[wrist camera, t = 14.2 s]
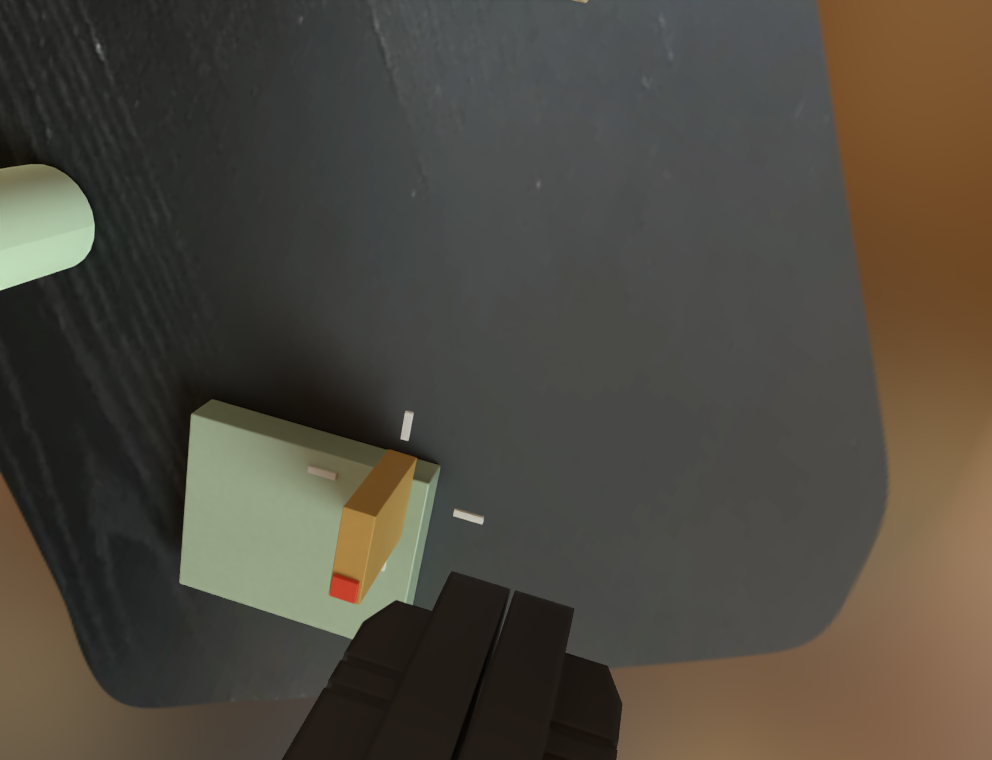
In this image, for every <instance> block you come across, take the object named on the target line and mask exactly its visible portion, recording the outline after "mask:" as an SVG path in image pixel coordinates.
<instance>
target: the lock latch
mask: <svg viewBox="0 0 992 760" xmlns="http://www.w3.org/2000/svg"><path fill="white" fill-rule="evenodd" d="M416 461H417V458H416V457H413V456H410V455H407V454H403V453H400V452H397V451H393V450H390V449H388V450H387V452H386V453H385V454H384V456H383V457H382V458H381V459H380V461H379V462H378V463H377V464H376V466H375V467H374V468H373V470H372V471H371V472H370V473H369V475H368V476H367V477H366V478H365V480H364V481H363V482H362V484H361V485H360V486H359V487H358V489H357V490H356V491H355V492H354V494H353V495H352V496H351V498H350V499H349V500H348V501H347V503H346V504H345V505H344V506H343V510H342V516H341V522H340V528H339V534H338V540H337V546H336V552H335V558H334V564H333V569H332V575H331V581H330V587H329V593H328V595H329V596H332V597H335V598H338V599H341V600H344V601H347V602H350V603H353V604H357V605H360V603H361V601H362V600H363V598H364V597H365V595H366V593H367V592H368V590H369V588H370V587H371V585H372V584H373V582H374V580H375V579H376V577H377V575H378V574H379V572H380V570H381V569H382V567H383V566H384V564H385V562H386V561H387V559H388V557H389V556H390V554H391V553H392V551H393V549H394V548H395V546H396V544H397V543H398V541H399V539H400V538H401V534H402V529H403V524H404V520H405V515H406V510H407V505H408V500H409V495H410V490H411V485H412V480H413V476H414V471H415V466H416Z"/></svg>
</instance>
